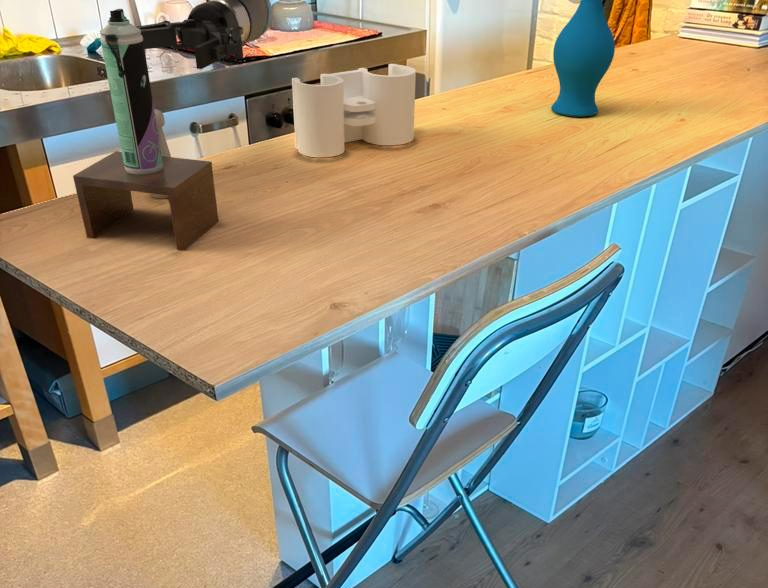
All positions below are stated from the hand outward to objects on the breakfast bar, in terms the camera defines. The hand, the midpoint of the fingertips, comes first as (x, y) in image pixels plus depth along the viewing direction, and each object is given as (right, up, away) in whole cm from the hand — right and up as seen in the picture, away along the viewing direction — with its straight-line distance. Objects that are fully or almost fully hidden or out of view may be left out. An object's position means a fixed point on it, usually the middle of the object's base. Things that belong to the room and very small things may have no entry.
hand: (154, 54), depth 116 cm
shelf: (-2, -22, +9) cm, 24 cm away
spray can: (-2, -15, +3) cm, 16 cm away
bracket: (+28, +6, +43) cm, 51 cm away
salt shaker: (-4, -12, +20) cm, 24 cm away
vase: (+75, +22, +62) cm, 100 cm away
